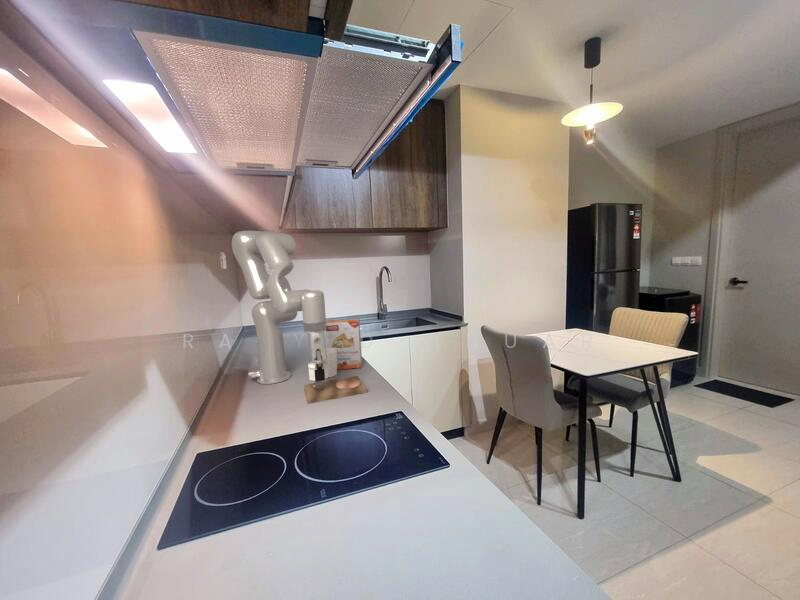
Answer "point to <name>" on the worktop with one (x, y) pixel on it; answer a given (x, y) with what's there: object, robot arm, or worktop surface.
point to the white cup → (331, 362)
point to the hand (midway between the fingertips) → (318, 376)
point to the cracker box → (345, 342)
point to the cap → (312, 367)
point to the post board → (333, 389)
